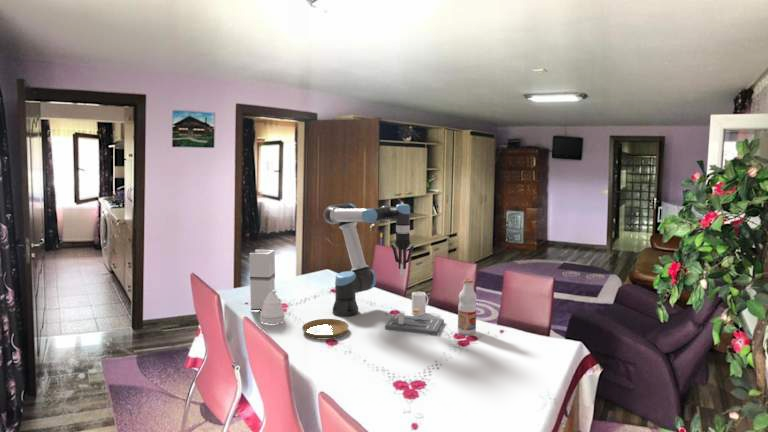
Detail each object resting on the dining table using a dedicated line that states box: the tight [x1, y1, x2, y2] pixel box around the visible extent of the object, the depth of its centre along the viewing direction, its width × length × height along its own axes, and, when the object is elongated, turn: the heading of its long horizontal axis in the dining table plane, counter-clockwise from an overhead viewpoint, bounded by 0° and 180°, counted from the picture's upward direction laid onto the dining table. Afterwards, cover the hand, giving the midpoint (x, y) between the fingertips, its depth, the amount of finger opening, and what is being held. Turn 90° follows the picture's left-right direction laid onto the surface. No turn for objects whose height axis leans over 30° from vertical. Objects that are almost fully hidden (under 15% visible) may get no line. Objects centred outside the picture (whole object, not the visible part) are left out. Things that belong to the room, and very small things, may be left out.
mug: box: [410, 291, 429, 317], centre depth 307 cm, size 12×8×12 cm
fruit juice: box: [457, 278, 477, 335], centre depth 275 cm, size 9×9×28 cm
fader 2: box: [413, 308, 420, 320], centre depth 289 cm, size 3×3×5 cm
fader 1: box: [397, 312, 406, 324], centre depth 282 cm, size 3×3×5 cm
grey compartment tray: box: [384, 314, 445, 336], centre depth 285 cm, size 28×20×2 cm
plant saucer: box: [301, 318, 349, 339], centre depth 275 cm, size 24×24×3 cm
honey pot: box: [260, 289, 285, 325], centre depth 290 cm, size 13×13×18 cm
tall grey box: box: [249, 249, 276, 311], centre depth 309 cm, size 11×11×35 cm
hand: (402, 274), depth 290 cm, fingers closed
